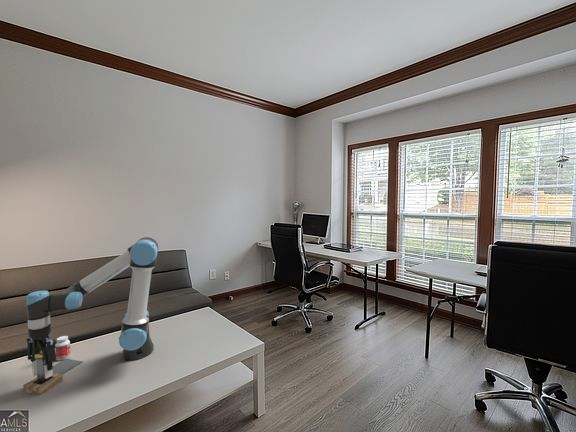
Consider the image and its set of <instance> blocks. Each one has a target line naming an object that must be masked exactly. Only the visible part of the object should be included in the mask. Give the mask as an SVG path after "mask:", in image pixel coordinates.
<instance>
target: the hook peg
mask: <svg viewBox="0 0 576 432" xmlns="http://www.w3.org/2000/svg"><path fill="white" fill-rule="evenodd" d="M35 359H36V369H37V375H36V378H37V383H38V384H40V385H41V384H43V383H45V382H47V381H48V380H49V378H47V379H45V371H44V364H46V363H45V360H44V357H43V354H42V350H40V352H37V353H36V354H35Z"/></svg>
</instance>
